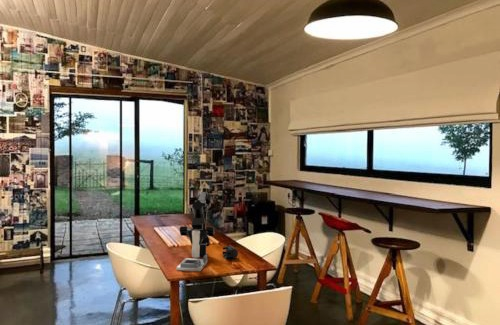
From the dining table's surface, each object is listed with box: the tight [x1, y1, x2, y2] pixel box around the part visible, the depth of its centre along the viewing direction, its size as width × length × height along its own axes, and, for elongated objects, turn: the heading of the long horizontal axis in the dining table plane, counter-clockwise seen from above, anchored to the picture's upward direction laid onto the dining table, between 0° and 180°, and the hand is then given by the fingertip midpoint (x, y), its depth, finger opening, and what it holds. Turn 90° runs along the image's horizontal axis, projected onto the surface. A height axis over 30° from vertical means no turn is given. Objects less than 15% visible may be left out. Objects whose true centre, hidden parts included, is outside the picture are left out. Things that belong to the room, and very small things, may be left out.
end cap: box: [222, 244, 239, 261], centre depth 245 cm, size 10×7×7 cm
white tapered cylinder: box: [191, 230, 200, 259], centre depth 221 cm, size 4×4×14 cm
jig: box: [175, 253, 209, 272], centre depth 226 cm, size 19×13×4 cm
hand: (195, 244), depth 219 cm, fingers closed on white tapered cylinder, 4 cm apart
